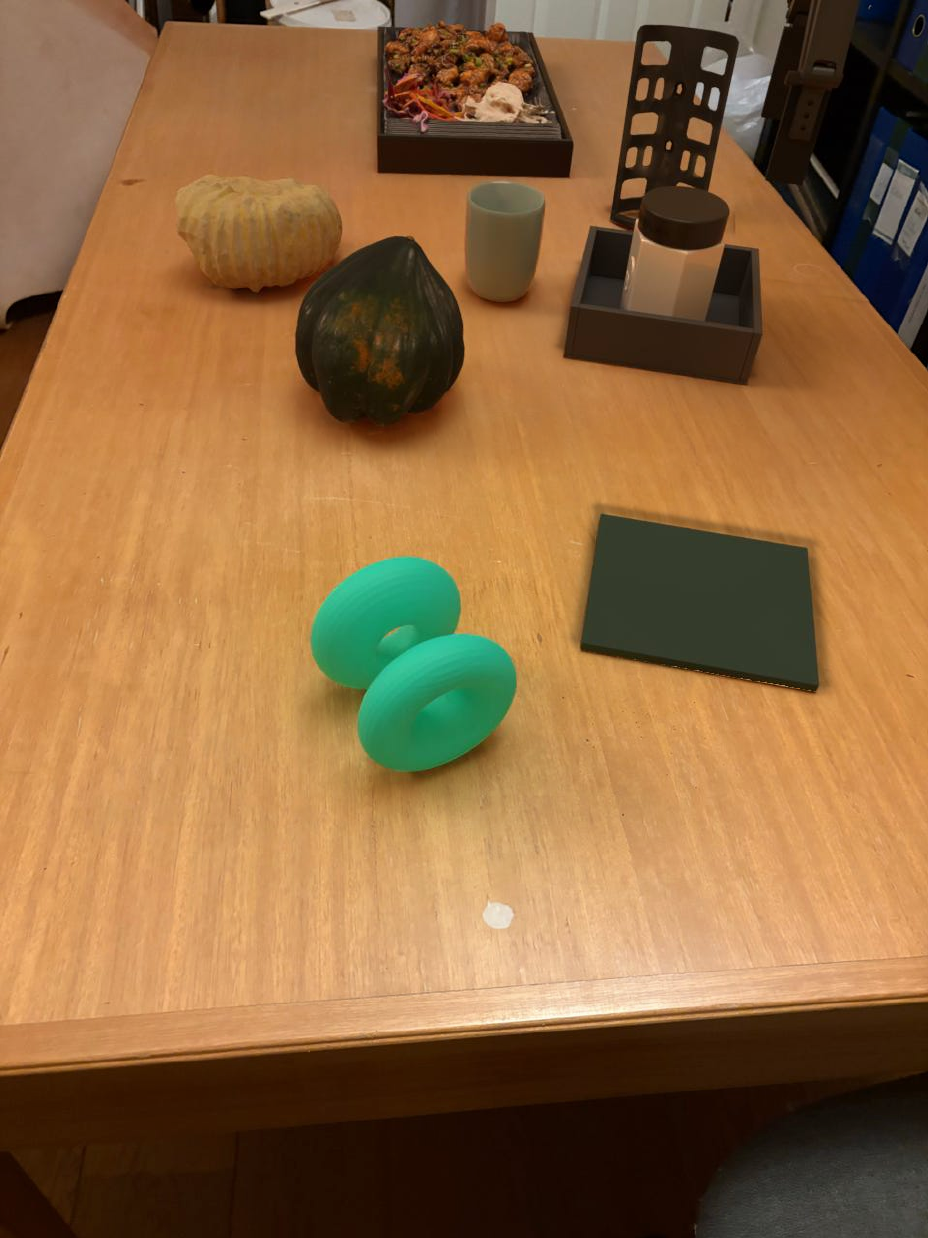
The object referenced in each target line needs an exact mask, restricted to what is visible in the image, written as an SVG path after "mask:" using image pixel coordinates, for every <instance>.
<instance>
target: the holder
mask: <svg viewBox="0 0 928 1238" xmlns="http://www.w3.org/2000/svg"><path fill="white" fill-rule="evenodd" d="M649 42H650V43H651V42H661V43H664V42H668V44H670V50H669V57H668V62H667V63H666V64H643V63H642V60H643V59H642V58H643V52H644V46H645V44H646V43H649ZM739 46H740V41H739V39H738V37H737V36H736V35H734V34H730V33H726V32H723V31H718V30H711V29H705V28H698V27H689V26H682V25H681V26H680V25H670V24H643V25H641V26H640V27H639V28H638V29H637V31H636V37H635V46H634V52H633V59H632V66H631V74H630V79H629V80H630V81H629V89H628V94H627V101H626V108H625V114H624V115H625V116H624V122H623V129H622V135H621V143H620V149H619V156H618V163H617V170H616V177H615V184H614V191H613V196H612V203H611V208H610V209H611V210H610V216H609V221H611V222H612V223H614V224H617V225H619V226H625V227H628V228H632V229H634V228H635V222H636V220H637V219H638V218H633V217H630V216H628V215H624V214H621V213H624V212H633V211H639V209H640V205H641V203H642V198H643V196H644V195H645V194H646V193H647V192H648V191H650V190H653V189H655V188H659V187H665V186H678V184H679V183H681V184H684V185H688V186H689V187H692V188H697V189H701V190H705V191H708V192H709V191H710V184H711V179H712V174H713V169H714V164H715V160H716V155H717V149H718V145H719V140H720V133H721V130H722V126H723V120H724V116H725V111H726V107H727V102H728V97H729V92H730V88H731V85H732V84H731V83H732V78H733V74H734V70H735V64H736V60H737V55H738V52H739V48H740V47H739ZM706 48H712V49H716V50H718V51H723V52H724V53H726V55H727V59H726V62H725V63H726V64H725V67H724V73H723V74H720V73H717V72H714V71H712V70H711V71H710V70H706V69H703V68H702V62H703V56H704V52H705V49H706ZM643 79H647V80H648V85H647V91H646V97H645V98H644V99H641V100H639V99H637V92H638V85H639V81H641V80H643ZM660 79H663V90H662V96H661V98H660V99H658V98H656V97H655V96H656V89H657V86H658V85H657V84H658V81H659V80H660ZM698 84H703V90H702V95H701V99H700V104H696V103H695V101H694V100H695V96H696V91H697V86H698ZM679 86H681V91H680V93H679V92H678V89H679ZM715 88H716V89H718V92H719V95H718V100H717V107H716V109H715V110H714V109H712V108H711V107H710V106H709V102H710V98H711V93H712V89H715ZM649 113H651V114H652V113H653V114H655V115H657V124H656V128H655V131H654V132H653V133H639V134H637V133H636V134H632V133H631V132H632V124H633V118H634V116H637V115H638V114H649ZM693 118H695V119H697V120H700V121H703V122H705V123H707V124H710V125H711V132H710V133H711V134H710V138H709V144H707V143H705V142H703V141H699V140H696V139H694V138H691V137H689V136H688V131H689V126H690V120H691V119H693ZM669 142H670V143H671V144H670V148H669V149H668V148H667V145H668V143H669ZM647 147H651V148H652V150H651V151H652V152H651V155H650V156H651V157H650V163H649V164H648V165H644V164H643V163H644V158H645V152H646V149H647ZM633 148H636V149H637V152H636V157H635V162H634V163H635V164H634V165H632V166H629V167H627V159H628V152H629V150H630V149H633ZM685 151H686V152H689V157H688V162H687V163H688V164H687V168H686V169H685V170H684V169H682V168H681V165H682V160H683V156H684V152H685ZM699 156H700V157H703V158H704V163H705V165H704V171H703V176H700V175H698V174H697V173H696V172H695V170H696V165H697V160H698V158H699ZM635 179H645V180H646V183H645V184H646V185H645V189H644V193H643V195H642V196H636V197H635V196H633V197H632V196H631V197H627V198H621V196H622V189H623V184H624V183H625V181H628V180H635Z"/></svg>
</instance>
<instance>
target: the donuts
mask: <svg viewBox="0 0 928 1238" xmlns="http://www.w3.org/2000/svg"><path fill="white" fill-rule="evenodd" d="M461 613H462V600H461V594H460V591H459V588H458V586H457V583H456V581H455V580H454V578H453V577H452V575H451V574H450V573H449V572H448V571H447V570H446V569H445V568H444V567H442V566H441V565H440V564H438V563H437V562H434V561H432V560H429V559H426V558H422V557H418V556H395V557H389V558H386V559H382V560H379V561H376V562H372V563H370V564H368V565H366V566H364V567H361V568H360V569H358V570H356V571H355V572H353V573H352V574H350V575H349V576H347V577H346V578H345V579H343V581H341V582H340V583H339V584H338V585H336V587H335V588H334V589H332V591H331V592H330V593H329V594H328V595H327V596H326V598H325V599H324V601H322V604H321V605H320V607H319V608H318V610H317V612H316V614H315V617H314V619H313V622H312V626H311V631H310V640H309V641H310V649H311V653H312V657H313V659H314V661H315V664H316V665H317V667H318V669H319V670H320V671H321V672H322V673H323V674H324V676H326V677H327V678H328V679H329V680H331V681H333V682H334V683H336V684H339V685H341V686H342V687H346V688H350V689H354V690H366V692H365V694H364V696H363V698H362V700H361V702H360V703H361V704H360V707H359V710H358V713H357V735H358V739H359V743H360V745H361V747H362V749H363V750H364V752H365V753H366V754H367V756H368V757H369V758H370V759H371V760H372V761H374V762H375V763H376V764H378V765H379V766H381V767H384V768H386V769H388V770H391V771H396V772H404V773H405V772H409V773H411V772H422V771H426V770H431V769H435V768H438V767H440V766H443V765H445V764H448V763H451V762H452V761H454V760H456V759H458V758H460V757H462V756H463V755H465V754H467V753H468V752H470V751H471V750H472V749H475V748H476V747H477V746H478V745H479V744H481V743H482V742H483V741H485V739H487V738H488V737H489V736H490V735H491V734H492V733H493V732H494V730H496V729H497V727H498V726H499V725H500V724H501V723H502V721H503V720H504V718H505V717H506V716H507V714H508V713H509V711H510V708H511V706H512V705H513V701H514V699H515V695H516V692H517V685H518V683H517V682H518V677H517V670H516V666H515V664H514V661H513V658H512V657H511V656H510V654H509V653H508V652H507V650H506V649H505V648H503V646H501V645H500V644H499V643H497V642H496V641H494V640H493V639H490V638H488V637H486V636H483V635H479V634H472V633H456V631H457V628H458V626H459V622H460V617H461ZM394 630H395V631H394ZM392 631H393V632H392ZM390 632H392V633H390ZM389 633H390V634H389ZM388 634H389V635H388Z"/></svg>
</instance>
